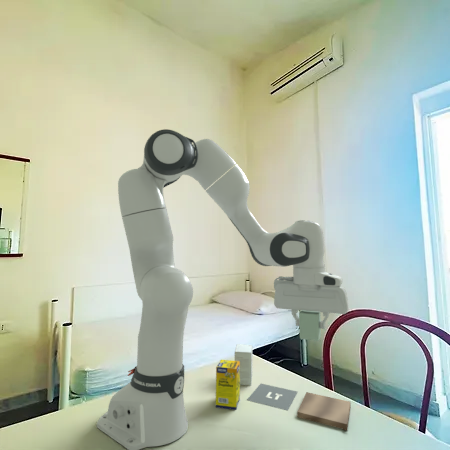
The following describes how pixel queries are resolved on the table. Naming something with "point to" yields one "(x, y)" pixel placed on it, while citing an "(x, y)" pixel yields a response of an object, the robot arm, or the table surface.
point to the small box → (244, 363)
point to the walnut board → (325, 410)
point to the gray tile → (273, 396)
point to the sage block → (309, 325)
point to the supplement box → (227, 384)
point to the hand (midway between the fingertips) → (310, 326)
